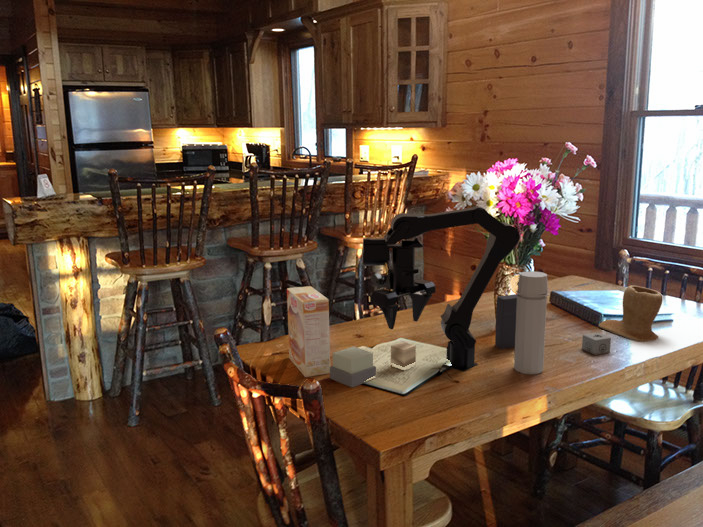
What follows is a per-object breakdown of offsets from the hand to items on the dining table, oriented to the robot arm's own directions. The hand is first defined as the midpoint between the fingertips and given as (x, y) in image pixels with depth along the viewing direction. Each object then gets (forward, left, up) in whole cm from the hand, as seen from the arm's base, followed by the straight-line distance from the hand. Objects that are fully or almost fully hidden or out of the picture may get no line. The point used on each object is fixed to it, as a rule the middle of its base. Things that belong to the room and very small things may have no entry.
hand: (403, 325), depth 162 cm
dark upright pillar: (-12, -33, -12) cm, 37 cm away
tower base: (+4, +14, -12) cm, 19 cm away
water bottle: (-24, -21, -12) cm, 34 cm away
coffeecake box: (+19, +16, -12) cm, 27 cm away
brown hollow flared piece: (-31, -65, -12) cm, 73 cm away
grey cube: (-30, -44, -12) cm, 54 cm away
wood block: (0, 0, -11) cm, 11 cm away
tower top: (+4, +14, -8) cm, 17 cm away
